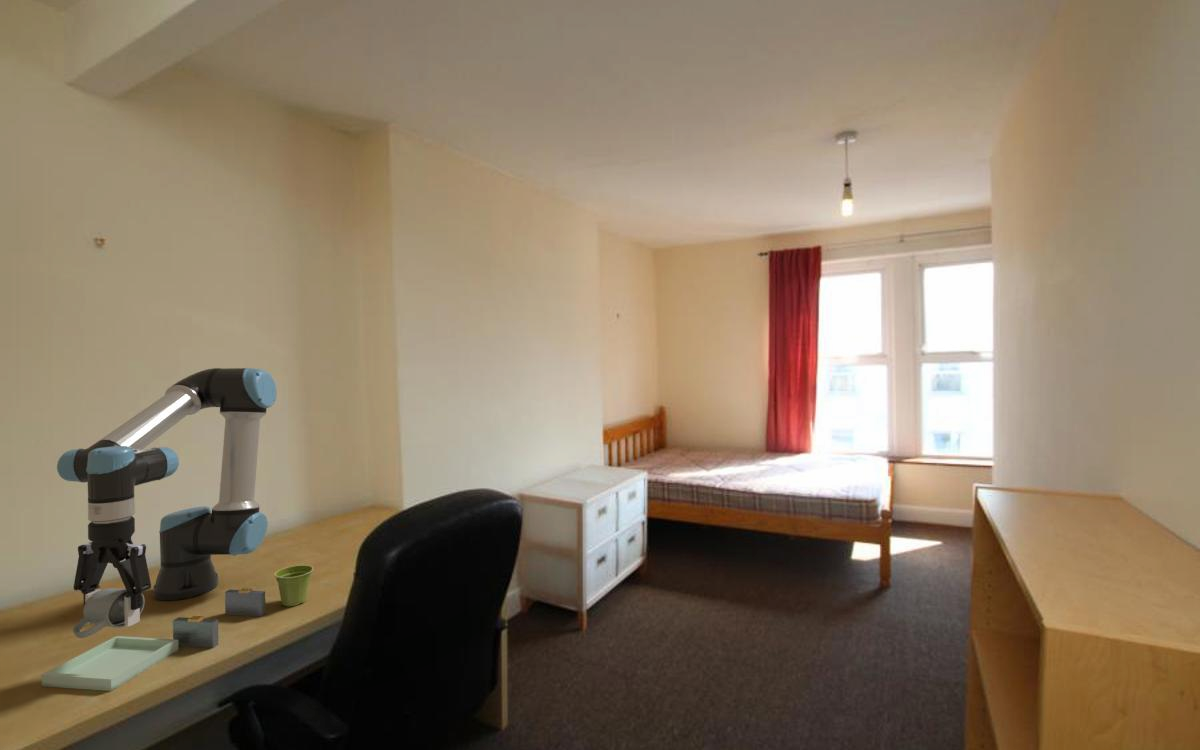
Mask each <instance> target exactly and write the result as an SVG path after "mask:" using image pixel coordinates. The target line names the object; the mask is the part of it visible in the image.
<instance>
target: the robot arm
mask: <svg viewBox="0 0 1200 750" xmlns="http://www.w3.org/2000/svg"><path fill="white" fill-rule="evenodd" d="M277 394H278V393H277V385H276V382H275V380H274V378H273V376H272V375H271V374H270V372H268V371H266V370H264V369H262V368H252V367H245V368H243V367H242V368H241V367H240V368H239V367H238V368H237V367H235V368H232V367H231V368H228V367H227V368H220V367H214V368H213V367H212V368H208V369H203V370H200V371H198V372H195V373H192V374H190V375H188V376H186V377H184V378H183V379H181V380H179V381H177V382H176V383H174V384H173V385H171V386H170V387H168V388H166V390H165V393H164V395H163V396H162V397H160V398H159V399H157V400H156V401H154V402H153V403H152V404H150V405H149V406H147V407H146V408H144V409H143V410H142V411H139V413H137V414H136V415H134V416H133V417H131V418H130V419H128V420H127V421H126V422H124V423H123V424H121V425H120V426H118V427H117V428H115V429H114V430H113V431H111V432H109V433H107V435H105V436H104V437H102V438H100V440H98V441H96V442H95V443H94V444H92V445H91V446H89V447H87V448H78V449H69V450H68V451H65V452H64V453H63V454H62V455H61V456H60V457H59V458H58V460H57V465H56V470H57V474H58V475H59V476H60V477H61V479H62V480H64V481H67V482H75V483H76V482H77V483H87V519H88V521H89V523H88V525H87V539H88V540H89V541H90V542H87V543H84V544H81V545H78V547H77V553H78V554H77V555H78V558H77V559H78V560H77V566H76V571H75V576H74V583H73V590H74V591H80V593H81V594H83V606H84V605H85V603H86V601H87V600H88V599H89V598H90V597H91V596H92V595H93V594H94V593H96V592H98V591H100V590H101V589H99V588H101V587H102V586H100V585H99V584H100V582H101V580H102V579H103V575H104V573H105V570H106V568H107V567H108V564H111V565H112V566H113V568H115V569H117V571H118V574H119V576H120V579H121V581H122V584H123V585H124V589H126V590H127V593H128V595H126V596H125V597H124V602H125V628H129V627H132V626H133V625H135V624H136V623H139V622H140V621H141V614H140V607H141V606H142V594H143V592H147V591H148V590H150V589H151V588H152V583H151V579H150V578H151V577H150V573H149V568H148V563H147V558H146V551H147V545H146V544H145V543H142V544H140V545H138V544H134V543H133V540H132V536H133V535H134V534H135V532H136V530H135V529H136V519H135V517H134V515H135V513H136V512H135V509H136V507H135V486H140V485H144V484H147V483H150V482H154V481H155V482H156V481H161V480H163V479H165V478H168V477H171V476H172V475H174V473H176V472H177V470H178V469H179V465H180V464H179V463H180V461H179V460H180V458H179V456H178V454H177V453H176V451H175V450H174V449H172V448H169V447H165V446H161V447H160V446H159V447H152V448H148V449H145V448H146V447H148V446H149V445H150V444H151V443H153V442H154V441H155V440H157V439H158V438H159V437H161V436H162V435H163V434H165V433H166V432H167V431H168V430H170V429H171V428H172V427H173V426H175V425H176V424H177V423H179V422H180V421H182V420H183V419H184V418H186V417H187V416H193V415H195V414H196V413H198V412H199V411H201V410H203V409H204V410H205V409H209V408H219V414H220V415H221V416H222V417H223V418H224V419H225V421H224V433H223V435H224V437H223V444H222V445H223V446H222V460H221V473H220V482H219V483H220V484H219V496H218V502H217V503H216V504H215V505H214V506H213V507H212V508H211V507H209V506H205V505H204V506H196V507H191V508H186V509H181V510H177V511H174V512H171V513H168V514H166V515H165V516H163V517H162V518H161V519H160V526H159V528H160V529H159V531H158V533H159V553H160V556H159V557H160V558H159V559H160V569H159V571H158V574H157V577H156V579H155V584H154V585H153V588H152V597H153V599H155V600H157V601H164V602H165V601H168V602H169V601H179V600H184V599H190V598H193V597H197V596H200V595H203V594H205V593H208V592H210V591H213V590H214V589H215V588H217V586H218V585H219V575H218V573H217V571H216V569H215V567H214V564H213V561H212V556H215V555H216V556H223V555H224V556H225V555H227V556H228V555H229V556H238V555H249V554H251V553H253V552H255V551H256V550H257V549H258V548H259V546H261V544H262V542H263V541H264V539H265V537H266V534H267V530H268V519H267V516H266V514H264V513H262V512H260V504H258V503H257V502H256V501H255V493H256V479H257V478H256V477H257V463H258V450H259V449H258V448H259V440H260V439H259V438H260V437H259V436H260V421H261V419H262V418H264V416H266V414H267V409H269V408H271V407H272V406H273V405H274V404H275V401H276V400H277ZM86 625H87V626H89V625H92V623H91V622H88V623H87V624H86ZM86 625H85V626H86Z"/></svg>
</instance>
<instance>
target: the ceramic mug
mask: <svg viewBox="0 0 1200 750" xmlns="http://www.w3.org/2000/svg"><path fill="white" fill-rule="evenodd" d="M126 595H128V593H127V590H126V588H122V587H121V588H116V587H115V588H114V587H109V588H103V589H100V591H98V592H96V593H94V594H93V595H92V596H91V597H90V598H89V599H88V600H87V601H86V603H85V605H84V604H83V608H82V614H83V617H82V618H81V619H80V620H79V621H78V622H77V623H76V624H75V625H74V626H73V628H72V633H73V634H74V636H75V638H79V639H84V638H88V637H90V636H93V635H95V634H97V633H98V632H100V631H101V630H102V629H104V628H106V627H110V628H116V629H117V628H118V629H119V628H124V627H125V602H124V597H125V596H126ZM144 606H145V596H144V594H143V593H142V606H141V607H140V615H141V614H142V613H143V610H144V608H145V607H144ZM88 622H91V624H92V625H94V626H91V627H89V628H87V629H85V630H83V631H81V629H82V628H83V627H84V626H86V624H87V623H88ZM125 628H126V627H125Z"/></svg>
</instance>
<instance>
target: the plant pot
mask: <svg viewBox="0 0 1200 750" xmlns="http://www.w3.org/2000/svg"><path fill="white" fill-rule="evenodd" d="M313 571H314V567H313V566H311V565H308V564H298V565H291V566H287V567H283V568H280V569H279V570H277V571H275V572H274V578H276V582H277V583H278V585H277V587H278V591H279V597H280V602H281V606H284V607H295V606H299V605H300V604H301V603H302V604H303V603H305V602H306V601H308V600H307V599H308V595H309V594H308V593H309V586H310V581H311V576H312V573H313Z"/></svg>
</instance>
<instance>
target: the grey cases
mask: <svg viewBox="0 0 1200 750" xmlns="http://www.w3.org/2000/svg"><path fill="white" fill-rule="evenodd" d="M224 604H225V605H224V607H225V608H224V609H225V610H224V611H225V613H224V614H225V616H243V617H245V616H246V617H263V616H264V615H266V591H265V590H253V588H246V587H243V588H241V589H228V590H227V591H224ZM172 639H174V640H178V647H188V648H189V647H190V648H191V647H192V648H205V649H214V648H215V647H218V645H219V619H217V618H204V616H202V615H193V616H190V617H182V616H179V617H177V618H175V619H173V620H172Z"/></svg>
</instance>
